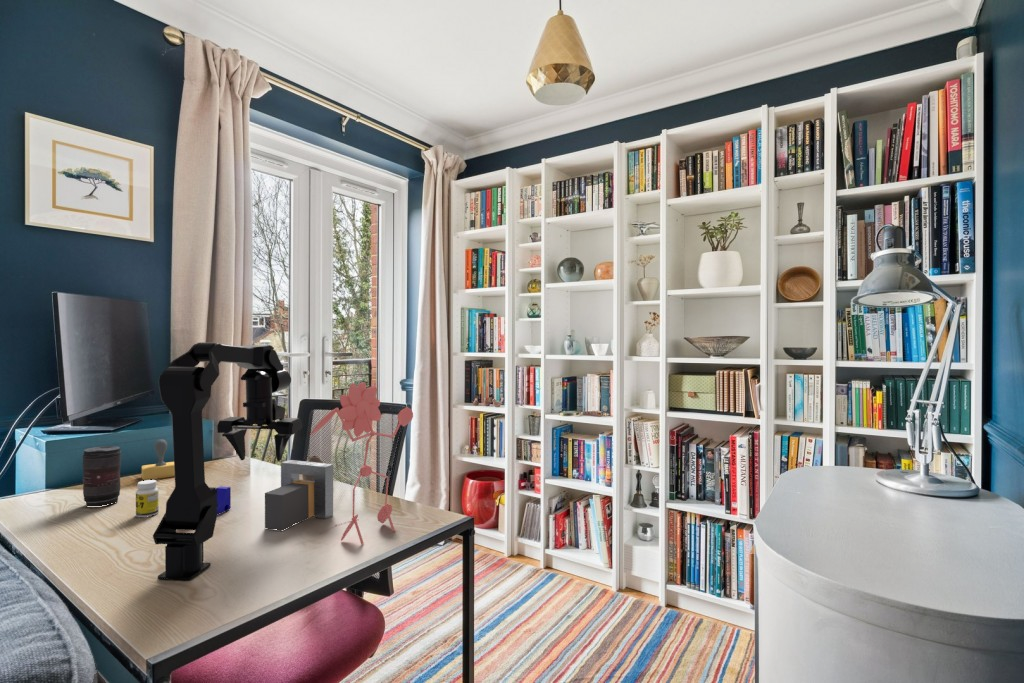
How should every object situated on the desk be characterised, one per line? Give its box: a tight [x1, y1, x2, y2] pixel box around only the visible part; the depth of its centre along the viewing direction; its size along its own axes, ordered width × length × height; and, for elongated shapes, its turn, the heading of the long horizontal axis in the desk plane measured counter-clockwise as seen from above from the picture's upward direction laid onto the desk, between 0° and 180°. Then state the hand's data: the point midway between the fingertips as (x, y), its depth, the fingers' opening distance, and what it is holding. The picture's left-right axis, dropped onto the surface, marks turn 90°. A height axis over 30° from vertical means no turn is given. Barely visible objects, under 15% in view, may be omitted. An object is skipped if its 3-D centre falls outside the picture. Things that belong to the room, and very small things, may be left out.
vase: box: [301, 455, 324, 481], centre depth 159 cm, size 7×7×9 cm
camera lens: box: [81, 445, 122, 507], centre depth 140 cm, size 8×8×15 cm
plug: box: [264, 479, 315, 531], centre depth 128 cm, size 12×5×9 cm, turn 162°
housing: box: [280, 459, 334, 519], centre depth 133 cm, size 3×14×13 cm, turn 72°
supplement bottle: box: [135, 479, 160, 518], centre depth 132 cm, size 5×5×8 cm
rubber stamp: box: [141, 438, 175, 481], centre depth 167 cm, size 10×6×12 cm, turn 128°
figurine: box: [310, 381, 415, 545], centre depth 122 cm, size 15×26×35 cm, turn 145°
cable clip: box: [215, 485, 232, 515], centre depth 132 cm, size 12×4×6 cm, turn 169°
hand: (261, 460), depth 127 cm, fingers open, 9 cm apart
